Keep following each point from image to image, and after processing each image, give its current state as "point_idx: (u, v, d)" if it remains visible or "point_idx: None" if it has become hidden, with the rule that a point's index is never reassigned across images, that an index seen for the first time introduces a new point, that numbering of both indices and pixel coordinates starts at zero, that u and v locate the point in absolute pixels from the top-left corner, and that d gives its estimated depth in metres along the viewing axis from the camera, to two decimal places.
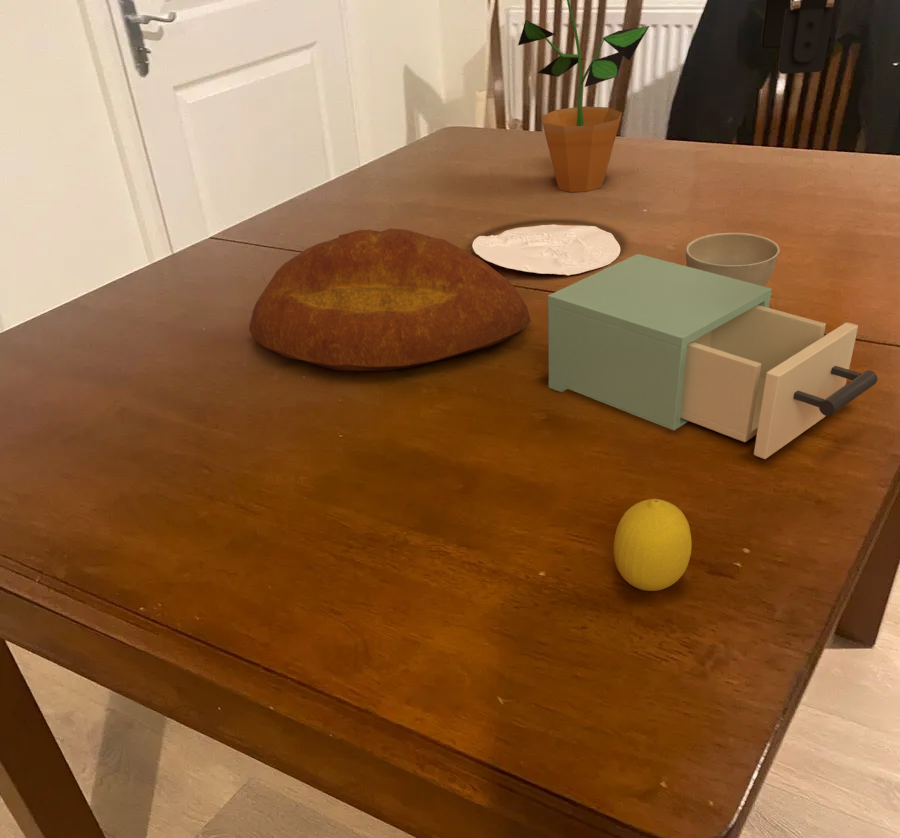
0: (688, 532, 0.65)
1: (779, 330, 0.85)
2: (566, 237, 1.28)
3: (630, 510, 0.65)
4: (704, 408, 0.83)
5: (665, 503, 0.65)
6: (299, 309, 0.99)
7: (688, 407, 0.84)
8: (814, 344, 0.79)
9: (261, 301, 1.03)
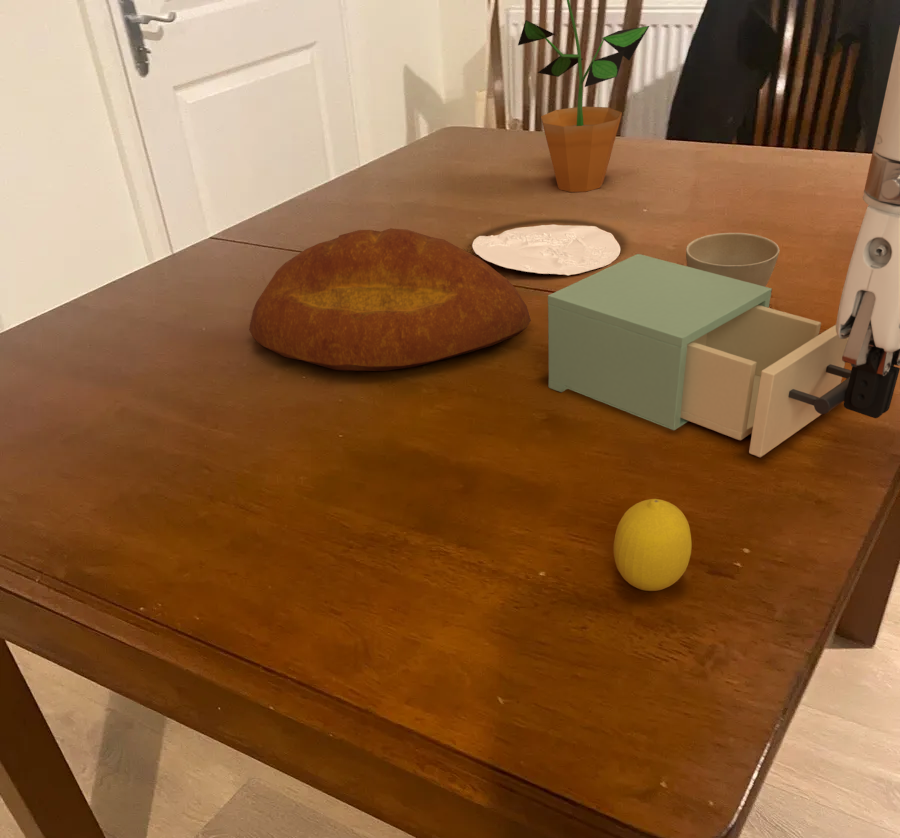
0: (688, 532, 0.65)
1: (775, 329, 0.85)
2: (566, 237, 1.28)
3: (630, 510, 0.65)
4: (699, 406, 0.83)
5: (665, 503, 0.65)
6: (300, 309, 0.99)
7: (684, 405, 0.85)
8: (809, 343, 0.79)
9: (261, 301, 1.03)
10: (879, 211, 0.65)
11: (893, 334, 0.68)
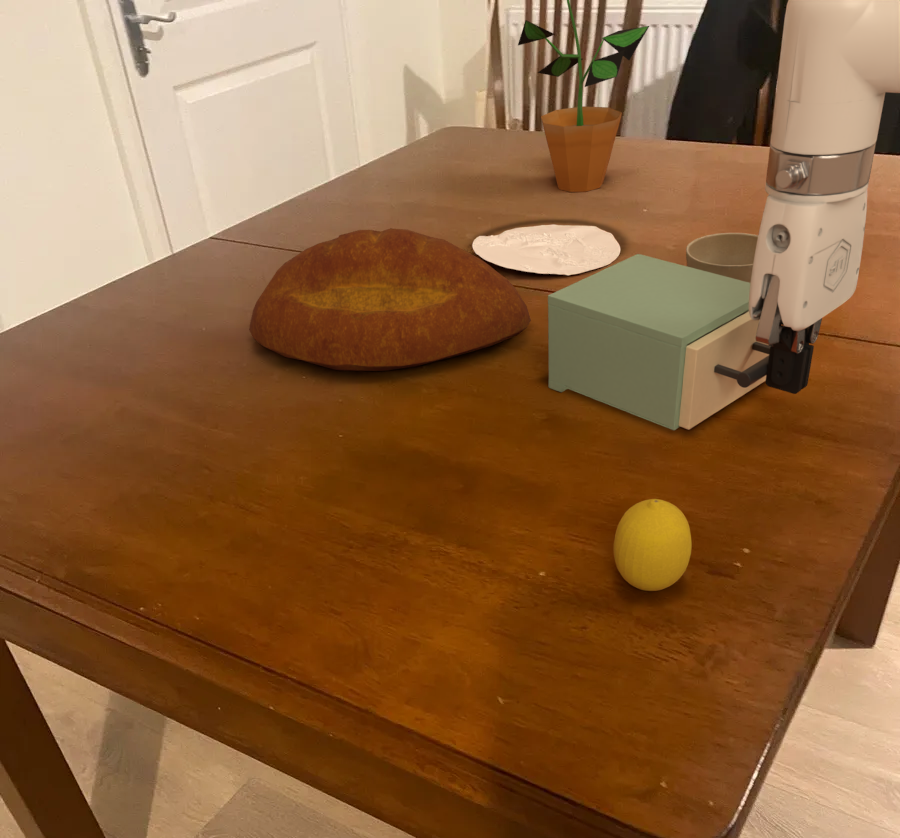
0: (688, 532, 0.65)
1: None
2: (566, 237, 1.28)
3: (630, 510, 0.65)
4: None
5: (665, 503, 0.65)
6: (300, 309, 0.99)
7: None
8: (734, 321, 0.83)
9: (261, 301, 1.03)
10: (777, 200, 0.70)
11: (798, 313, 0.72)
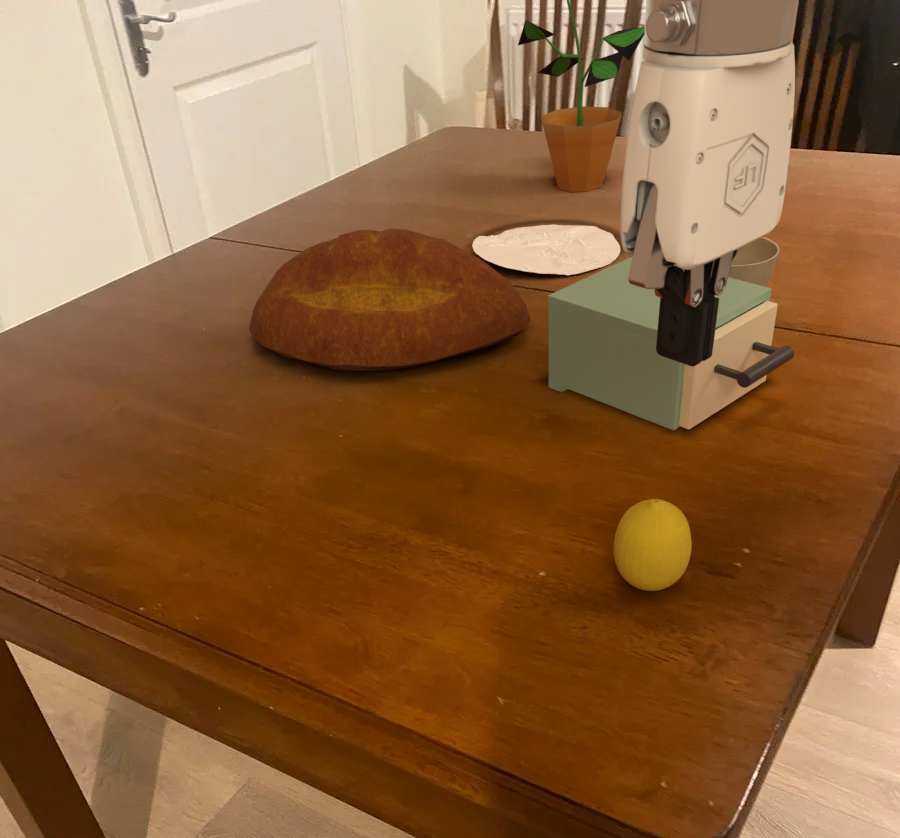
0: (688, 532, 0.65)
1: None
2: (566, 237, 1.28)
3: (630, 510, 0.65)
4: None
5: (665, 503, 0.65)
6: (300, 309, 0.99)
7: None
8: (734, 321, 0.83)
9: (261, 301, 1.03)
10: (654, 65, 0.47)
11: (684, 242, 0.49)
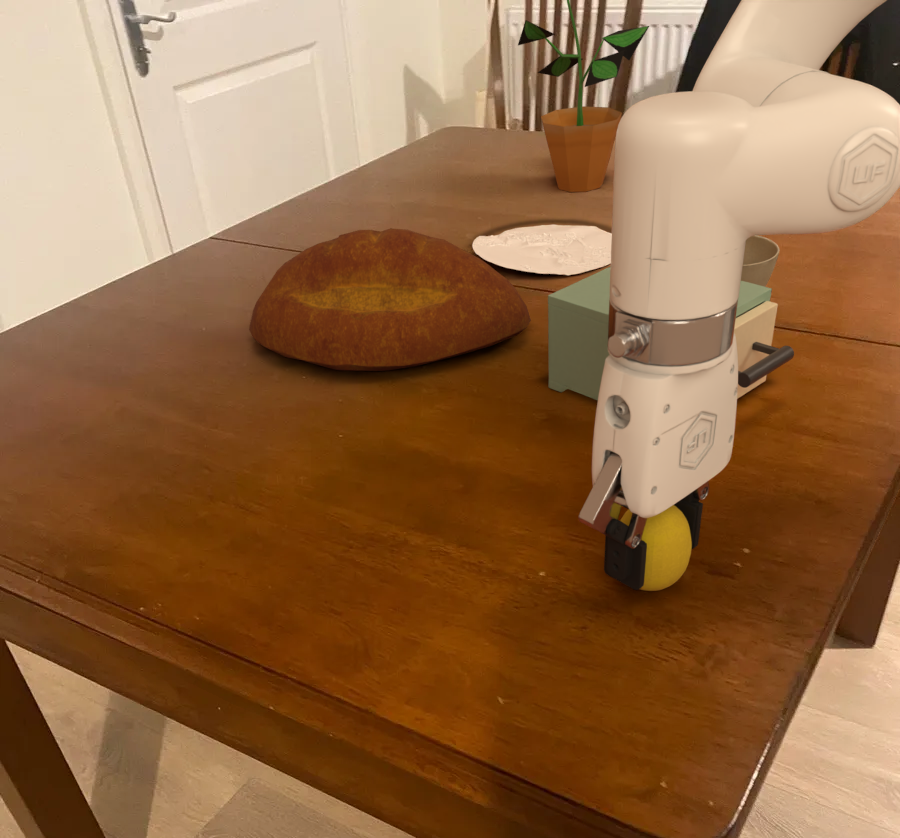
0: (688, 532, 0.65)
1: None
2: (566, 237, 1.28)
3: None
4: None
5: None
6: (300, 309, 0.99)
7: None
8: None
9: (261, 301, 1.03)
10: (616, 366, 0.55)
11: (646, 501, 0.58)
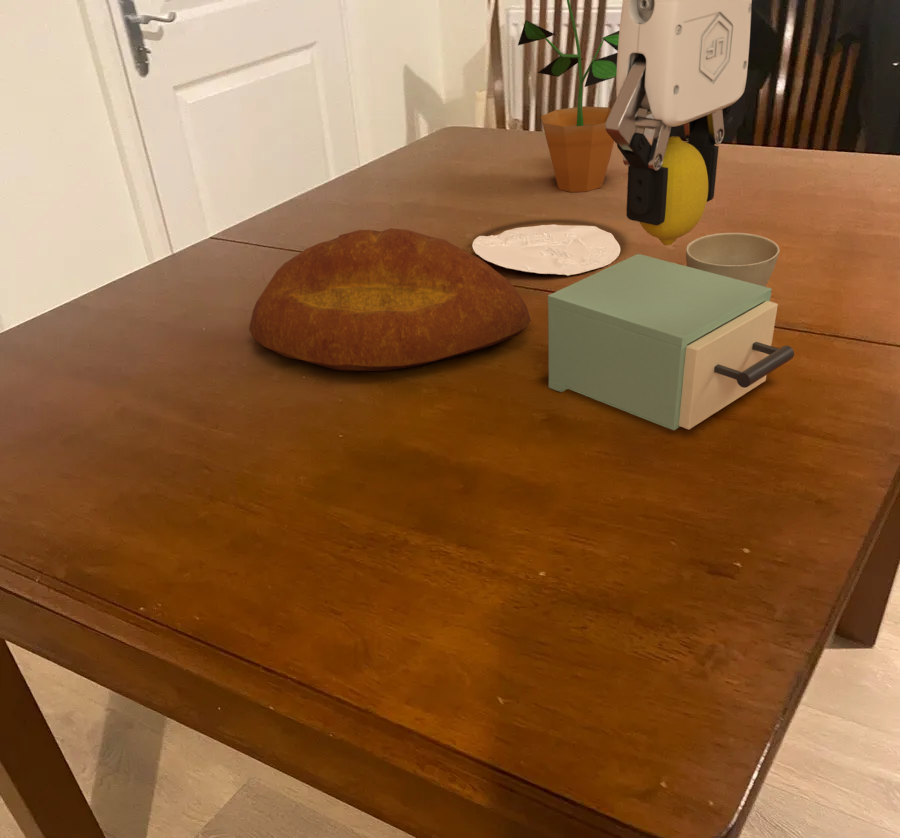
0: (705, 168, 0.69)
1: None
2: (566, 237, 1.28)
3: None
4: None
5: (683, 141, 0.69)
6: (300, 309, 0.99)
7: None
8: (734, 321, 0.83)
9: (261, 301, 1.03)
10: None
11: (668, 101, 0.62)
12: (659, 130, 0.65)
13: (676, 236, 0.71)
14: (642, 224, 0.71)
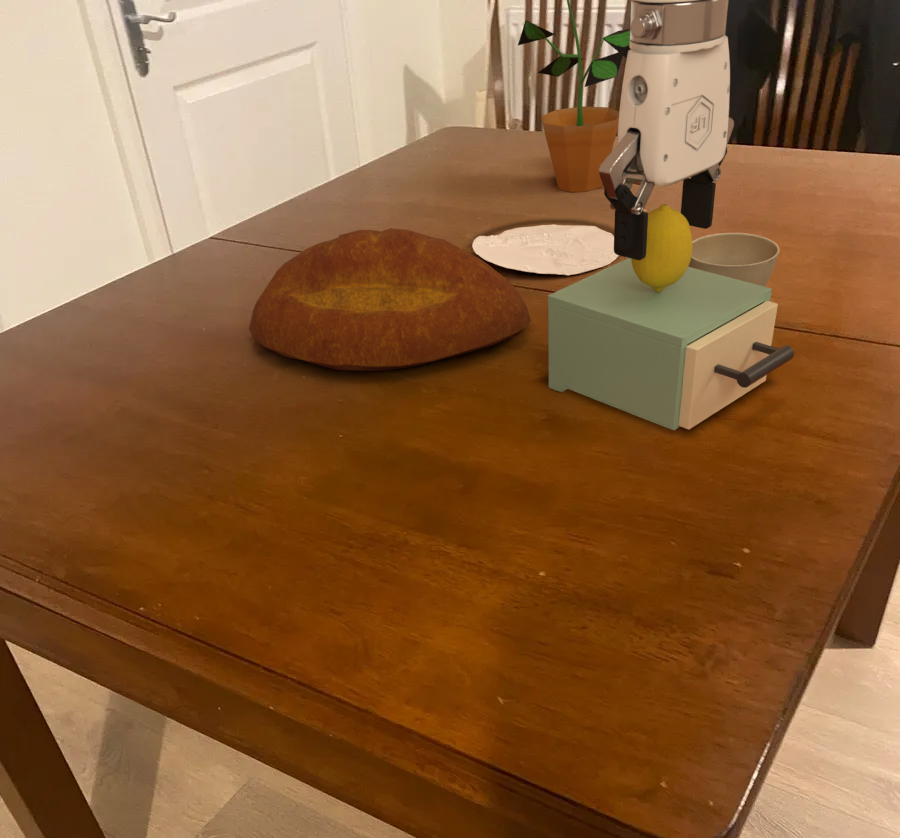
0: (689, 231, 0.83)
1: None
2: (566, 237, 1.28)
3: None
4: None
5: (671, 208, 0.83)
6: (300, 309, 0.99)
7: None
8: (734, 321, 0.83)
9: (261, 301, 1.03)
10: (636, 52, 0.73)
11: (659, 167, 0.75)
12: (645, 182, 0.77)
13: (665, 285, 0.85)
14: (637, 275, 0.86)
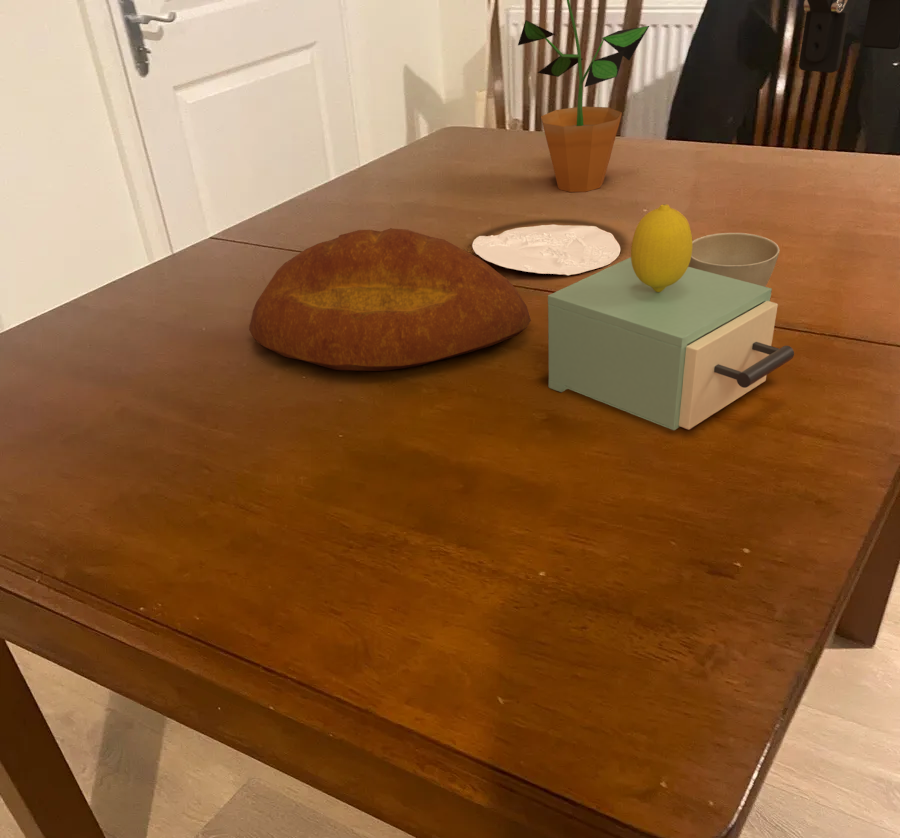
0: (689, 231, 0.83)
1: None
2: (566, 237, 1.28)
3: (644, 216, 0.83)
4: None
5: (671, 208, 0.83)
6: (300, 309, 0.99)
7: None
8: (734, 321, 0.83)
9: (261, 301, 1.03)
10: None
11: None
12: None
13: (665, 285, 0.85)
14: (637, 275, 0.86)
